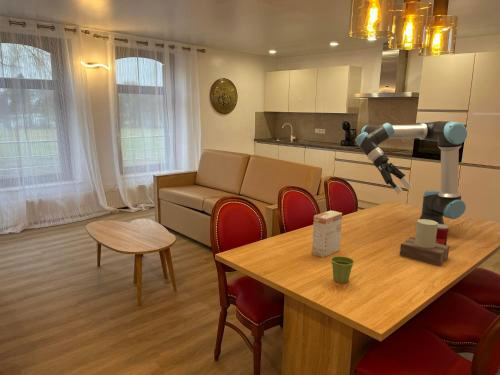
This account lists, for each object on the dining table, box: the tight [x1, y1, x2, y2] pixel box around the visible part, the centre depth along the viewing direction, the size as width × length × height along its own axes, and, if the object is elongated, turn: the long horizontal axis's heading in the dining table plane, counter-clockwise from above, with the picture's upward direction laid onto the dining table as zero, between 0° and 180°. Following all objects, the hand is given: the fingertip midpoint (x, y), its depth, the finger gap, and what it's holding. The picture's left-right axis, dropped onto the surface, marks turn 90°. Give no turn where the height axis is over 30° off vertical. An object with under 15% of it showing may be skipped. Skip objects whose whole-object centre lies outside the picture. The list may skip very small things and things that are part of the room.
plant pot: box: [330, 255, 355, 284], centre depth 152 cm, size 9×9×9 cm
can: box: [414, 218, 438, 248], centre depth 178 cm, size 9×9×12 cm
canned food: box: [435, 223, 449, 245], centre depth 195 cm, size 8×8×11 cm
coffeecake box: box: [311, 210, 343, 258], centre depth 182 cm, size 15×7×20 cm, turn 134°
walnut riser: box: [399, 236, 450, 267], centre depth 180 cm, size 14×18×6 cm
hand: (405, 190), depth 186 cm, fingers open, 13 cm apart
